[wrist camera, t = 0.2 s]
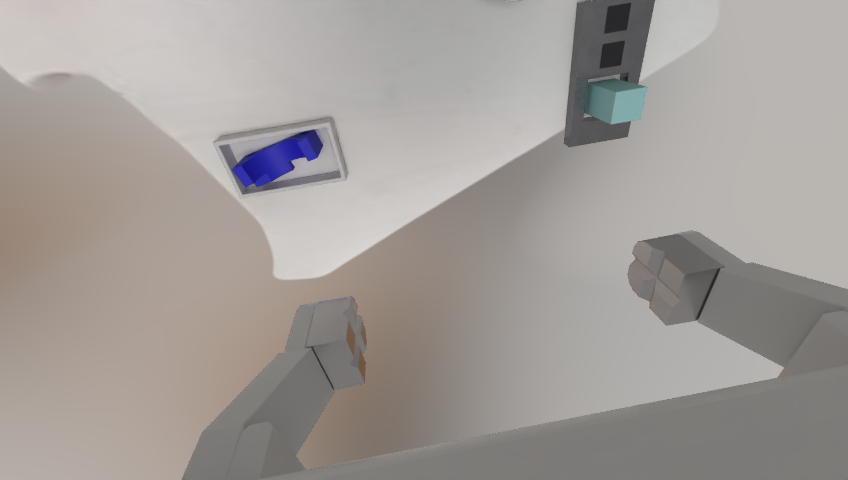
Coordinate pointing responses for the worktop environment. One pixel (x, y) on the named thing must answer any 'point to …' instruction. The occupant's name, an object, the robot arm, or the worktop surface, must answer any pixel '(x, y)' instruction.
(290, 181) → the clip tray
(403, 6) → the worktop surface
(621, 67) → the grey slotted board
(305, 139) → the cable clip
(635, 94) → the upright teal block
